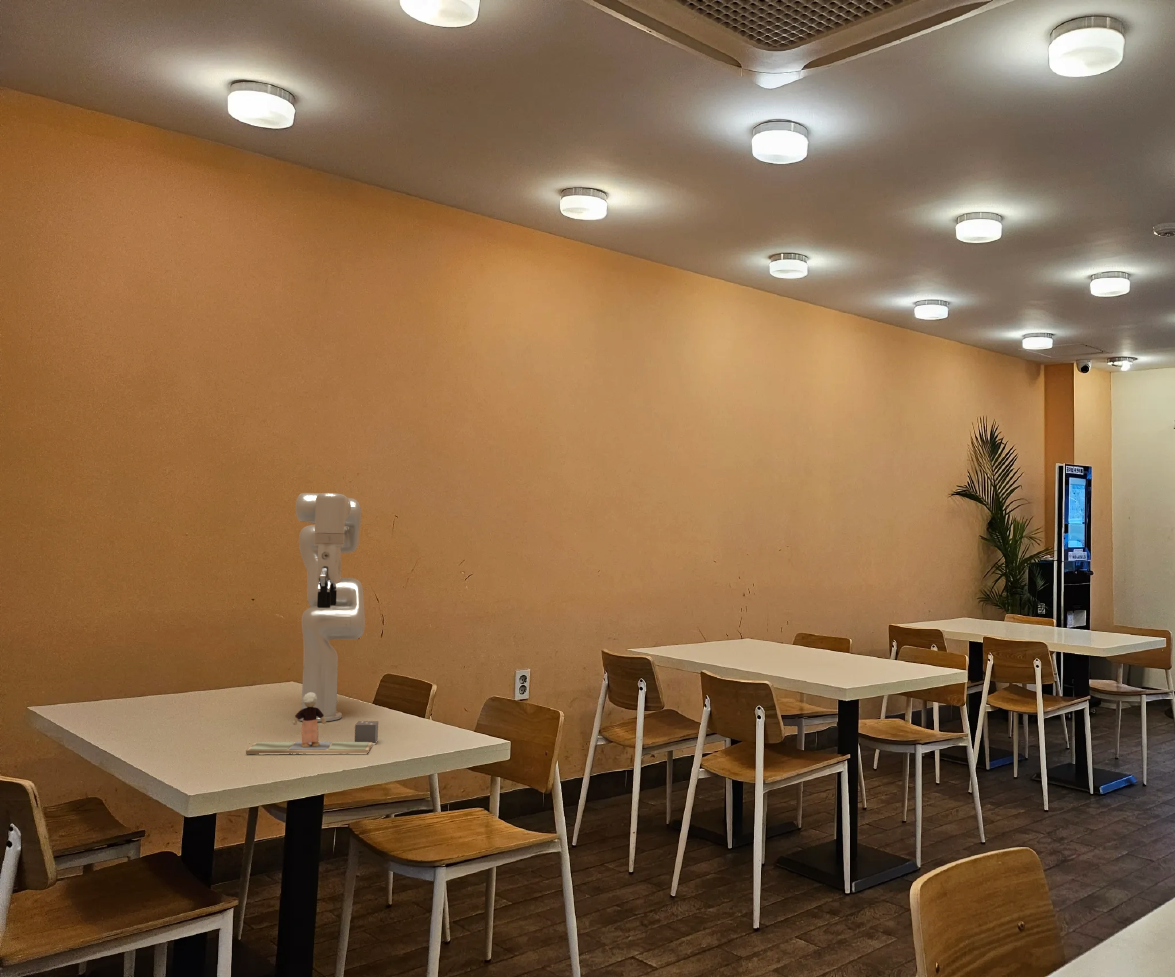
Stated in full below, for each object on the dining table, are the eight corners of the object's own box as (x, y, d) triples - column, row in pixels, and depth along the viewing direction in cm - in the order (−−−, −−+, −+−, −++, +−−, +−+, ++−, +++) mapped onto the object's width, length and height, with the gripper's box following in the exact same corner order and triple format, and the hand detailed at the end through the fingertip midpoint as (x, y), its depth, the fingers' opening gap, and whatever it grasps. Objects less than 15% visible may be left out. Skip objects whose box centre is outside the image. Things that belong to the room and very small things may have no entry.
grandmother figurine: (320, 742, 233) (322, 690, 233) (326, 745, 230) (328, 692, 230) (289, 746, 228) (291, 692, 229) (295, 749, 225) (297, 694, 226)
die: (357, 741, 242) (358, 720, 242) (377, 741, 242) (378, 720, 243) (354, 745, 237) (355, 724, 237) (374, 745, 237) (375, 724, 238)
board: (254, 746, 232) (255, 741, 232) (372, 746, 235) (372, 741, 235) (245, 755, 223) (246, 749, 223) (367, 754, 226) (367, 749, 226)
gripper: (339, 540, 241) (336, 609, 240) (348, 540, 258) (346, 604, 257) (308, 540, 240) (306, 608, 239) (320, 540, 257) (317, 604, 256)
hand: (326, 606), depth 248 cm, fingers open, 9 cm apart
